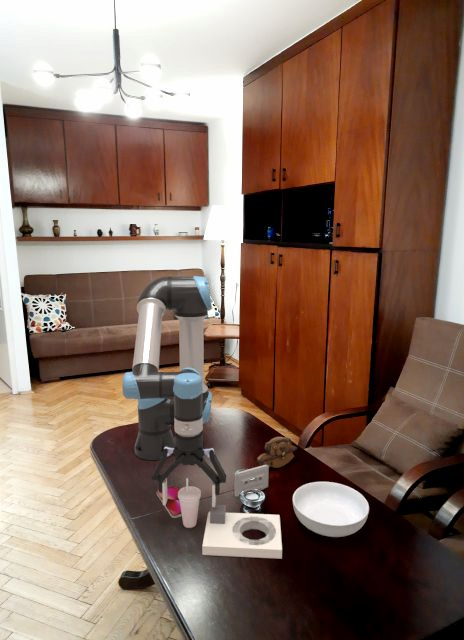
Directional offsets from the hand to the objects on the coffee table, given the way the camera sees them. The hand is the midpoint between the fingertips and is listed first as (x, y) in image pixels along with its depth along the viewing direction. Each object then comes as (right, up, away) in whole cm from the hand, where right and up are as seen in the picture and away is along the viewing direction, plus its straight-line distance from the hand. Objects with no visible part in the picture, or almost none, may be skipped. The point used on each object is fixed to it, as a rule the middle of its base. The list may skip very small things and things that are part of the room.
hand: (189, 503), depth 124 cm
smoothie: (0, -6, +2) cm, 7 cm away
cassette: (+18, -3, +17) cm, 25 cm away
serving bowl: (+39, -7, +2) cm, 40 cm away
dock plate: (+15, -7, -4) cm, 17 cm away
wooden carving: (+28, 0, +32) cm, 43 cm away
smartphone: (-5, -5, +12) cm, 14 cm away
